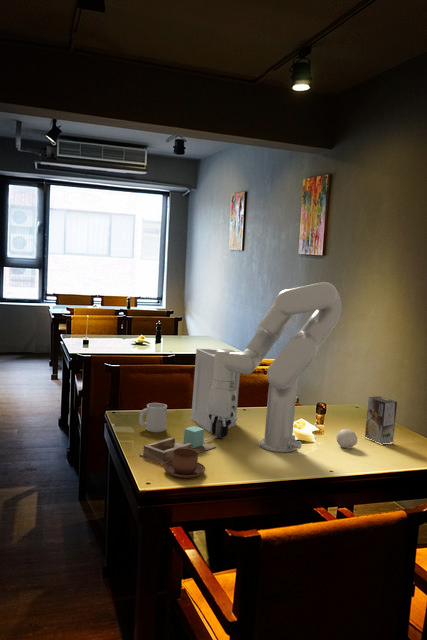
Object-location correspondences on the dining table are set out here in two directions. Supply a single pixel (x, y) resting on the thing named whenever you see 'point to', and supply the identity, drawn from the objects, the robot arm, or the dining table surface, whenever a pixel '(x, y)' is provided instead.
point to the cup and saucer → (184, 464)
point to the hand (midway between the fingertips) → (219, 434)
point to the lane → (169, 450)
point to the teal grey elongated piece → (200, 434)
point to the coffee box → (381, 419)
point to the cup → (154, 417)
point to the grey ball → (346, 438)
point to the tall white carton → (205, 387)
